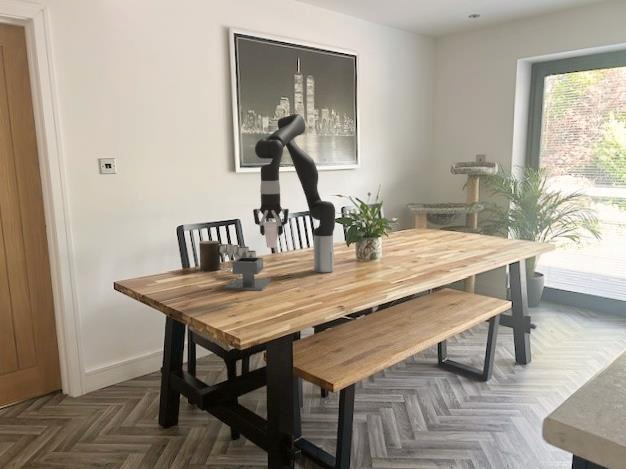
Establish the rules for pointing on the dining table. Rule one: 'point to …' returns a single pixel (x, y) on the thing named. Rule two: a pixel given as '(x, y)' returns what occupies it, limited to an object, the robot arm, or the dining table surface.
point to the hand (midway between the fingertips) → (271, 235)
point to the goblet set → (234, 253)
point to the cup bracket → (247, 274)
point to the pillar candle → (209, 256)
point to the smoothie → (271, 233)
